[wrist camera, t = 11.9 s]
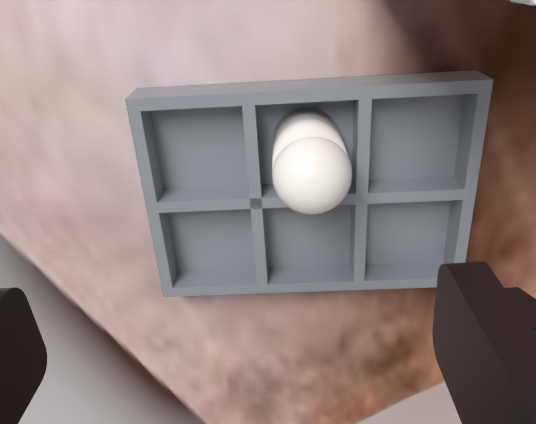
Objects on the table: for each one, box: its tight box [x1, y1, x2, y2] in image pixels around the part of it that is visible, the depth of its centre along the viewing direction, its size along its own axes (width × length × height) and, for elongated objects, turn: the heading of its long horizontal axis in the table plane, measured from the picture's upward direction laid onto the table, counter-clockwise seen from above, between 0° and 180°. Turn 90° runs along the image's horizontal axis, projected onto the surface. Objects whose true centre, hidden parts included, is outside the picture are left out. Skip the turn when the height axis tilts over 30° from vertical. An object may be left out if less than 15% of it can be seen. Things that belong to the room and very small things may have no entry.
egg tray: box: [125, 70, 494, 297], centre depth 34 cm, size 22×15×3 cm
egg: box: [272, 107, 352, 214], centre depth 30 cm, size 5×5×8 cm
